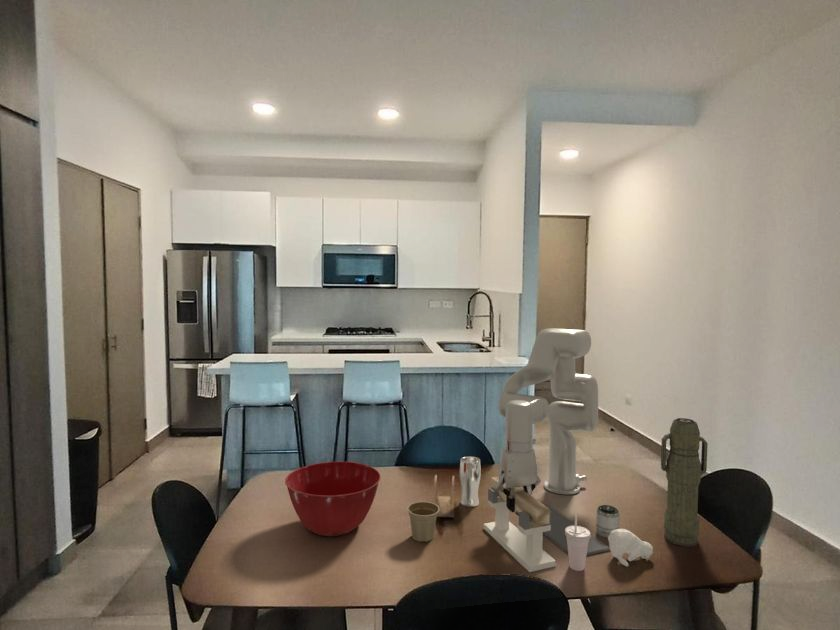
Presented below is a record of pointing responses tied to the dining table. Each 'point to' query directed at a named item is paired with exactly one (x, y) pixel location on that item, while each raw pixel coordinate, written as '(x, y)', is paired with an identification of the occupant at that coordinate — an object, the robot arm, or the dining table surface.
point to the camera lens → (607, 520)
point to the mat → (559, 537)
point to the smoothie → (577, 545)
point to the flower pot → (423, 520)
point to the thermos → (683, 481)
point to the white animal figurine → (628, 546)
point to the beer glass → (470, 480)
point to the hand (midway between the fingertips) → (518, 508)
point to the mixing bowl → (332, 495)
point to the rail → (526, 504)
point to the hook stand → (519, 535)
